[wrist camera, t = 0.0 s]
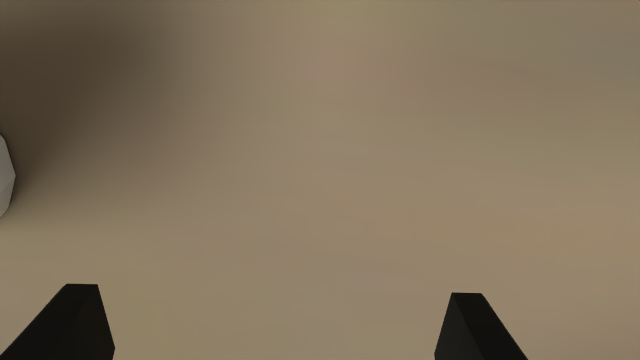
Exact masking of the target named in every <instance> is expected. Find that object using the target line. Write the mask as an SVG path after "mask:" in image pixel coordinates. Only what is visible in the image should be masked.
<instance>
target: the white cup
mask: <svg viewBox="0 0 640 360" xmlns="http://www.w3.org/2000/svg"><path fill="white" fill-rule="evenodd" d="M15 177H16V175H15V171H14V168H13V165H12V162H11V159H10V155H9V152H8V149H7V146H6V142H5V140H4V139H3V137H2V136H1V135H0V217H1V216H2V215H3V214H4V212H5V211H6V210H7V209H8V207H9V204H10V199H11V195H12V190H13V186H14V182H15Z"/></svg>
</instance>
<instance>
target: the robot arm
mask: <svg viewBox="0 0 640 360" xmlns="http://www.w3.org/2000/svg"><path fill="white" fill-rule="evenodd" d="M114 351H115V346H114V342H113V339H112V335H111V331H110V328H109V324H108V321H107V317H106V313H105V310H104V306H103V303H102V299H101V295H100V292H99V288H98V285H97V284H66V285H65V286H63V287H62V288H61V289H60V291H59V292H58V293H57V294H56V295H55V296H54V297H53V298H52V299H51V301H50V302H49V303H48V304H47V305H46V306H45V307H44V308H43V310H42V311H41V312H40V313H39V314H38V315H37V316H36V317H35V318H34V320H33V321H32V322H31V323H30V324H29V325H28V326H27V327H26V328H25V329H24V331H23V332H22V333H21V334H20V335H19V336H18V337H17V338H16V339H15V340H14V341H13V343H12V344H11V345H10V346H9V347H8V348H7V349H6V350H5V351H4V352H3V353H2V354H1V355H0V360H112V359H113V355H114ZM434 355H435V360H528V359H527V357H526V356H525V355H524V353H523V352H522V350H521V349H520V348H519V346H518V345H517V343H516V342H515V341H514V339H513V338H512V336H511V335H510V334H509V332H508V331H507V329H506V328H505V326H504V325H503V323H502V322H501V321H500V319H499V318H498V316H497V315H496V313H495V312H494V310H493V309H492V307H491V306H490V304H489V303H488V301H487V300H486V298H485V297H484V296H483V295H482V294H481V293H452V294H451V297H450V301H449V304H448V308H447V311H446V315H445V318H444V322H443V325H442V329H441V332H440V336H439V339H438V343H437V346H436V350H435V353H434Z"/></svg>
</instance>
